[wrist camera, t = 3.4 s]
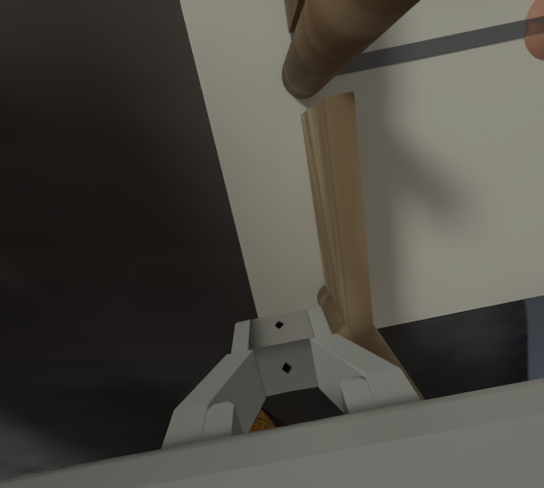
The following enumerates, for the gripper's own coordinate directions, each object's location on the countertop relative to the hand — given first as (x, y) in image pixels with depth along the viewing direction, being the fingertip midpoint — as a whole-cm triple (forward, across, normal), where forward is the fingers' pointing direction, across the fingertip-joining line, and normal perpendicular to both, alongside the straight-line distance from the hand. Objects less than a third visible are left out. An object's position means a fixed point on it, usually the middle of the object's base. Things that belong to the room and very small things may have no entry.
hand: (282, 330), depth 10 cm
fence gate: (+13, -4, 0) cm, 14 cm away
